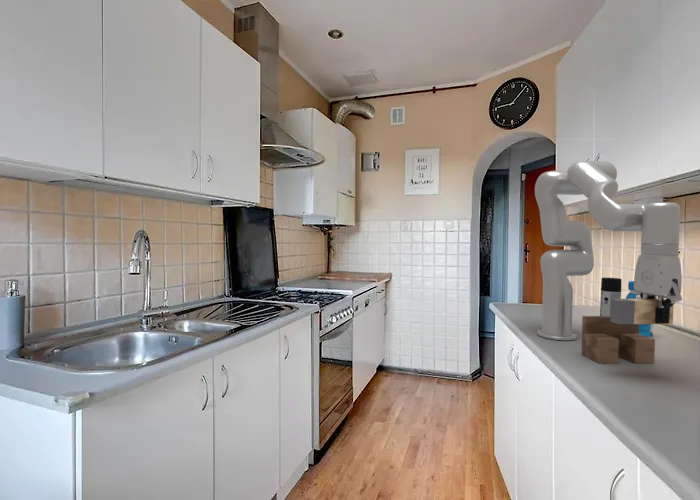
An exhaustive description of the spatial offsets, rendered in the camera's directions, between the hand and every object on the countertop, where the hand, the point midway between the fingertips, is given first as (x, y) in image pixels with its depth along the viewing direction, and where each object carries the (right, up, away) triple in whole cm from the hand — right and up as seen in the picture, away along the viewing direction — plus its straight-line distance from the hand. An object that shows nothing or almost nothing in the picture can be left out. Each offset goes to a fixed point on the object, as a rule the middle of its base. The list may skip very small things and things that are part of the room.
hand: (656, 320), depth 97 cm
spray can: (+24, -13, +51) cm, 58 cm away
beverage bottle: (+26, -13, +39) cm, 49 cm away
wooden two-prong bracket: (0, -14, +14) cm, 20 cm away
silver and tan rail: (-4, -1, 0) cm, 4 cm away
